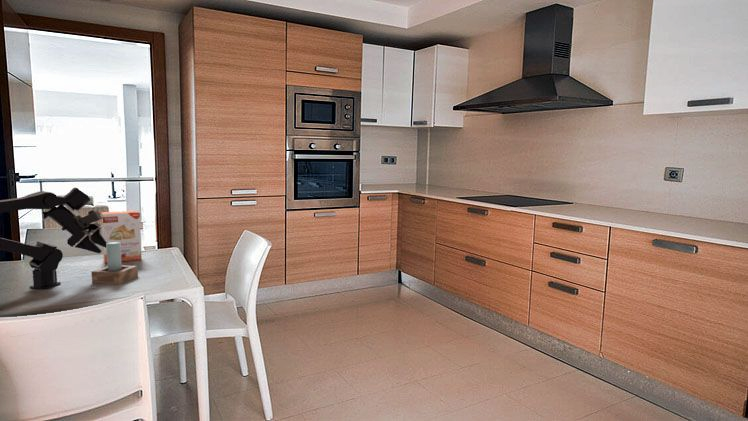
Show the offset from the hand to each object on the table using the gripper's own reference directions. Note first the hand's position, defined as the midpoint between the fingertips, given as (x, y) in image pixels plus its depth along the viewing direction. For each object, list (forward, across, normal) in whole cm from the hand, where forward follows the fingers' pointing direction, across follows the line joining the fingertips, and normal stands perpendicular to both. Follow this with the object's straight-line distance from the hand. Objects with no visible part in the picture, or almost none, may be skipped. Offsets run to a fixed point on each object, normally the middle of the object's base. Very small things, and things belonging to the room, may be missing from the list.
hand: (104, 249), depth 167 cm
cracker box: (+8, +30, +9) cm, 32 cm away
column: (+9, 0, +5) cm, 11 cm away
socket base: (+10, 0, +6) cm, 12 cm away
